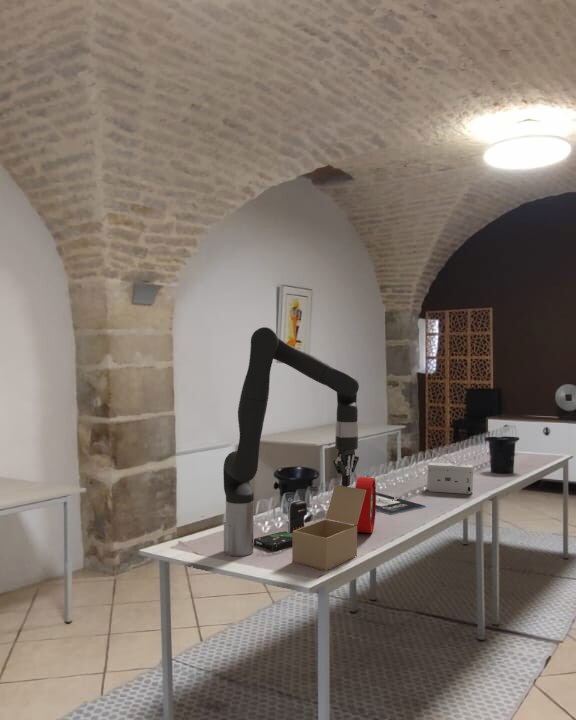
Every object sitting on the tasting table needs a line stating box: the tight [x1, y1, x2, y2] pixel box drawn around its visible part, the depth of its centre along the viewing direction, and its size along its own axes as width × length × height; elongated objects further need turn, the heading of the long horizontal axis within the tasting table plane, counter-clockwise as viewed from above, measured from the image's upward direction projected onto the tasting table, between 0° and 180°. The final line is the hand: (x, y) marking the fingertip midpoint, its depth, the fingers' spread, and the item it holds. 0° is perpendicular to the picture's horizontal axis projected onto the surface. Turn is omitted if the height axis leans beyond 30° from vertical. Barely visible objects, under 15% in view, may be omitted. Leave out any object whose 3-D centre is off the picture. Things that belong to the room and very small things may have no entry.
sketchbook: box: [375, 492, 427, 515], centre depth 290 cm, size 22×30×2 cm
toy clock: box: [354, 476, 377, 534], centre depth 247 cm, size 20×6×20 cm, turn 167°
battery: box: [287, 499, 308, 534], centre depth 245 cm, size 7×4×11 cm, turn 134°
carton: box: [291, 518, 358, 572], centre depth 215 cm, size 18×13×10 cm
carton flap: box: [325, 484, 366, 525], centre depth 225 cm, size 12×12×1 cm
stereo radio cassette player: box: [427, 449, 474, 495], centre depth 315 cm, size 21×8×20 cm, turn 75°
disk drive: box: [253, 530, 293, 552], centre depth 231 cm, size 10×3×15 cm
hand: (345, 486), depth 224 cm, fingers closed
